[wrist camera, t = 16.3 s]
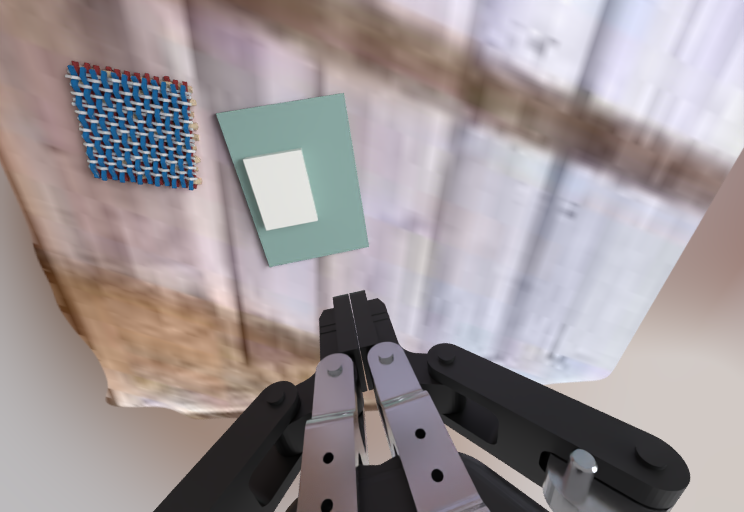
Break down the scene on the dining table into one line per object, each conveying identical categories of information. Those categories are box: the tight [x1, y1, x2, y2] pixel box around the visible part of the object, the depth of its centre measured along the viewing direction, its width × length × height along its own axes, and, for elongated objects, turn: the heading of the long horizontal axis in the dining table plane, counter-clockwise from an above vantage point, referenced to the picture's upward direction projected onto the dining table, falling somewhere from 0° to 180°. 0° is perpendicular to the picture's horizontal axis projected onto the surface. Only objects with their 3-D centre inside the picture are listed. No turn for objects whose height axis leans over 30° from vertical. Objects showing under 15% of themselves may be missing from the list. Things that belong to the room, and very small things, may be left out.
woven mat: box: [65, 61, 202, 190], centre depth 30 cm, size 10×11×2 cm
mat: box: [216, 93, 369, 267], centre depth 35 cm, size 18×13×1 cm
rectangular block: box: [243, 148, 318, 231], centre depth 34 cm, size 6×2×8 cm
